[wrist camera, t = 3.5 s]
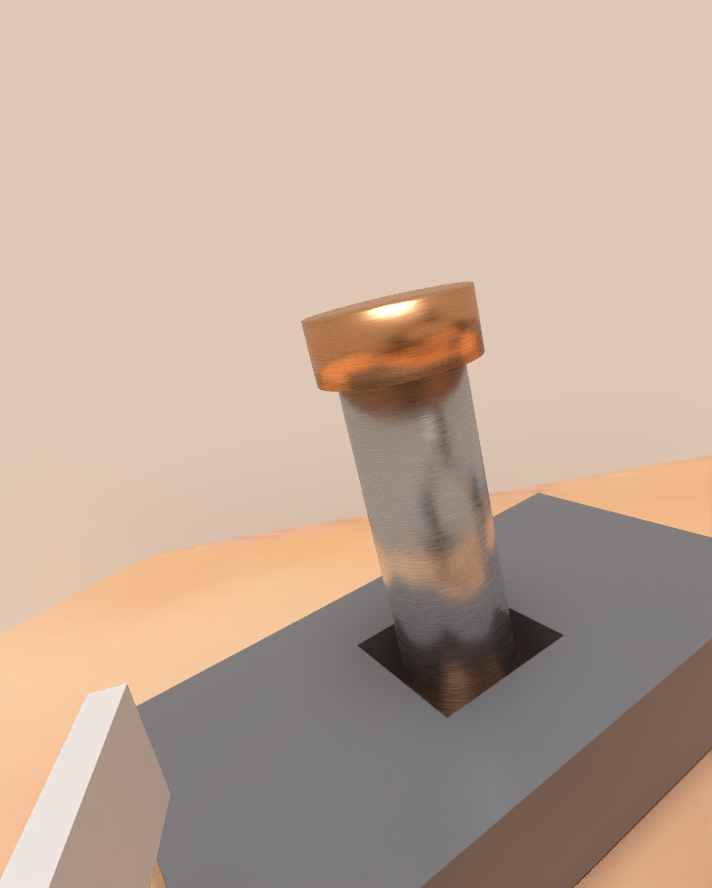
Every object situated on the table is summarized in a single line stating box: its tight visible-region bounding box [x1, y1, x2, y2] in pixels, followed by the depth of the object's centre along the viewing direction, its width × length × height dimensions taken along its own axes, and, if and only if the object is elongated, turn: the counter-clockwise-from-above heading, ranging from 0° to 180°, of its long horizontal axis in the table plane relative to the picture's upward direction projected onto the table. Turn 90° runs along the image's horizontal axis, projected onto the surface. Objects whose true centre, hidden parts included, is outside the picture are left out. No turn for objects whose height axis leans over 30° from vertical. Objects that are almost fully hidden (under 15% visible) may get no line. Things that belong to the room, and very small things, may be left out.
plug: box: [301, 282, 519, 718], centre depth 20 cm, size 5×5×16 cm
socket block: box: [136, 493, 712, 888], centre depth 22 cm, size 22×12×4 cm, turn 122°
